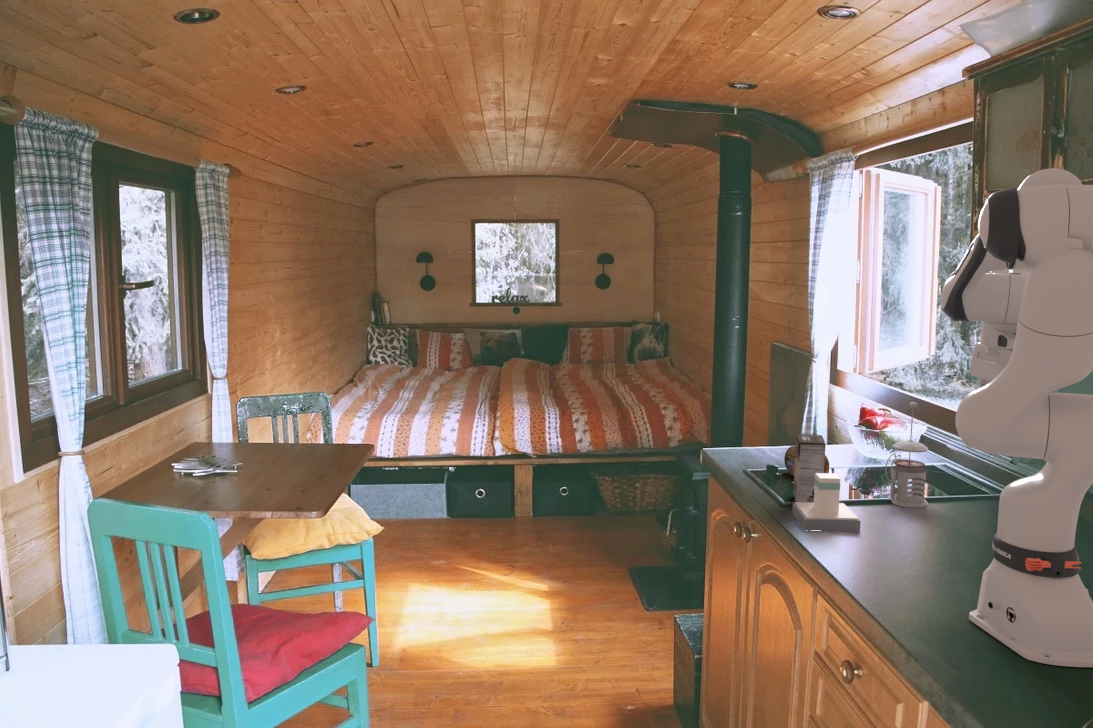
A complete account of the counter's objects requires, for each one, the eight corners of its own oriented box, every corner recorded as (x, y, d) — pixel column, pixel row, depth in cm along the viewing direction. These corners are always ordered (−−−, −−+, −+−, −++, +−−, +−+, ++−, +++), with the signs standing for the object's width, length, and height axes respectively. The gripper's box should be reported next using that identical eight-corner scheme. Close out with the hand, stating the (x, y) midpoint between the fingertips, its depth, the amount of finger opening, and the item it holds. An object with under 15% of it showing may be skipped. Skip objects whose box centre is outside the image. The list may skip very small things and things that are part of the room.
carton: (838, 513, 187) (840, 478, 185) (818, 512, 187) (820, 478, 186) (833, 507, 191) (834, 473, 190) (813, 506, 191) (814, 473, 190)
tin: (782, 472, 233) (784, 442, 232) (791, 471, 234) (793, 441, 233) (821, 486, 219) (823, 454, 218) (830, 484, 221) (832, 453, 219)
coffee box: (792, 495, 210) (795, 433, 208) (818, 497, 209) (821, 434, 207) (795, 506, 201) (798, 441, 199) (823, 508, 200) (826, 443, 198)
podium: (860, 532, 183) (860, 518, 183) (804, 530, 184) (805, 517, 183) (844, 515, 195) (844, 502, 195) (792, 513, 196) (792, 501, 195)
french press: (937, 504, 203) (944, 404, 200) (901, 509, 199) (907, 407, 196) (906, 493, 212) (913, 397, 209) (871, 498, 208) (876, 400, 205)
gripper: (966, 332, 181) (958, 395, 183) (1014, 341, 161) (1005, 411, 162) (995, 334, 181) (987, 397, 183) (1047, 343, 161) (1038, 413, 162)
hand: (996, 404), depth 172 cm, fingers open, 8 cm apart
